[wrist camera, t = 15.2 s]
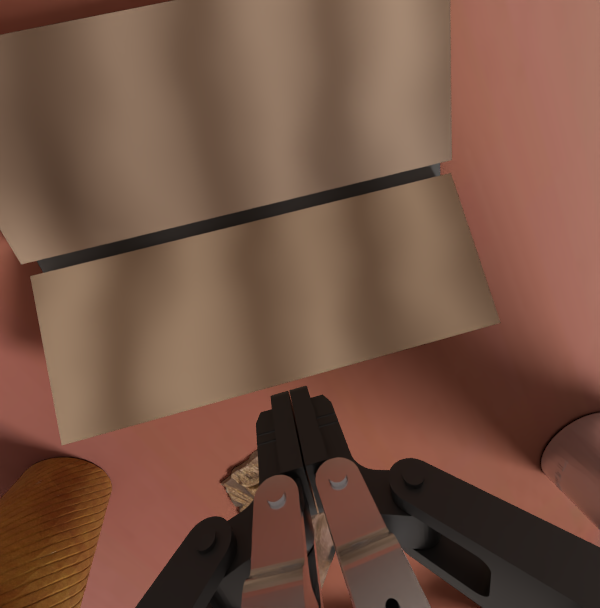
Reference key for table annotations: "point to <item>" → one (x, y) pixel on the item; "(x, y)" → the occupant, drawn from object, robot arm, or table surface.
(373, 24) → the floor board
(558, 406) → the table surface
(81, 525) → the disposable coffee cup
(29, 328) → the table surface
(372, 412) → the table surface
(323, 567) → the flat brown piece
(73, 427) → the board
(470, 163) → the table surface
